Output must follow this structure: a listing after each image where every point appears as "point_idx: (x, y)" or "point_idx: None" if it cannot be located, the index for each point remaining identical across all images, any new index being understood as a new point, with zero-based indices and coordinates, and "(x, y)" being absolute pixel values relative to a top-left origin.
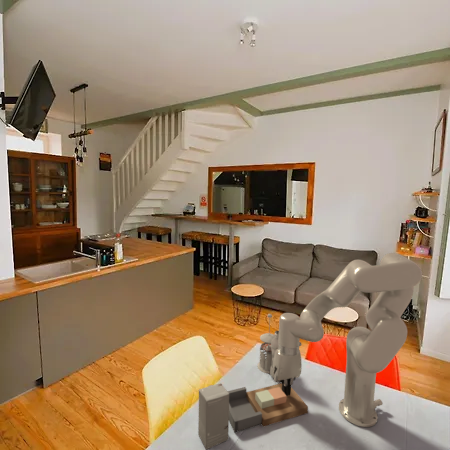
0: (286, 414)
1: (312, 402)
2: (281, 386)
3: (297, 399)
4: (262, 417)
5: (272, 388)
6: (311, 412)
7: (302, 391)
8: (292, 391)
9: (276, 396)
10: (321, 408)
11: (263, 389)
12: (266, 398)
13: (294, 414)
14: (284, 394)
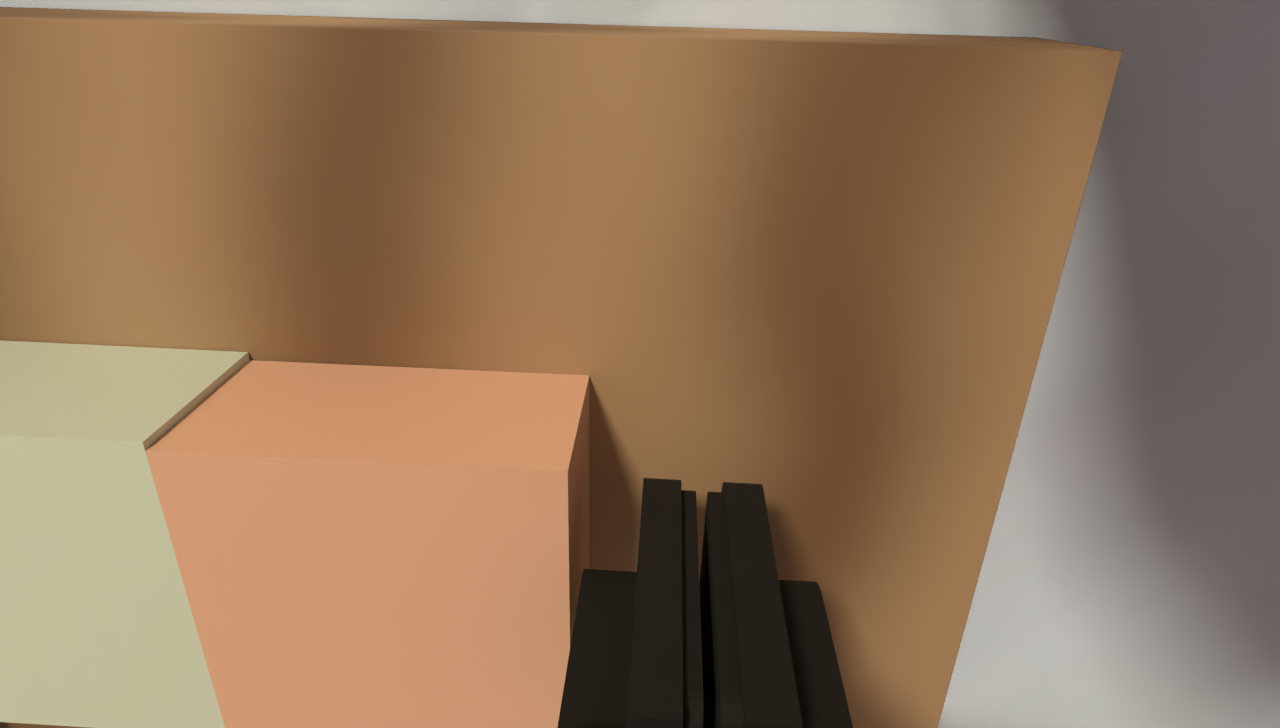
0: None
1: (1158, 595)
2: (807, 186)
3: (865, 655)
4: (9, 726)
5: (499, 162)
6: (947, 722)
7: (1273, 307)
8: (949, 451)
9: (315, 700)
10: (1165, 723)
11: (215, 97)
12: (34, 671)
13: None
14: (548, 723)
